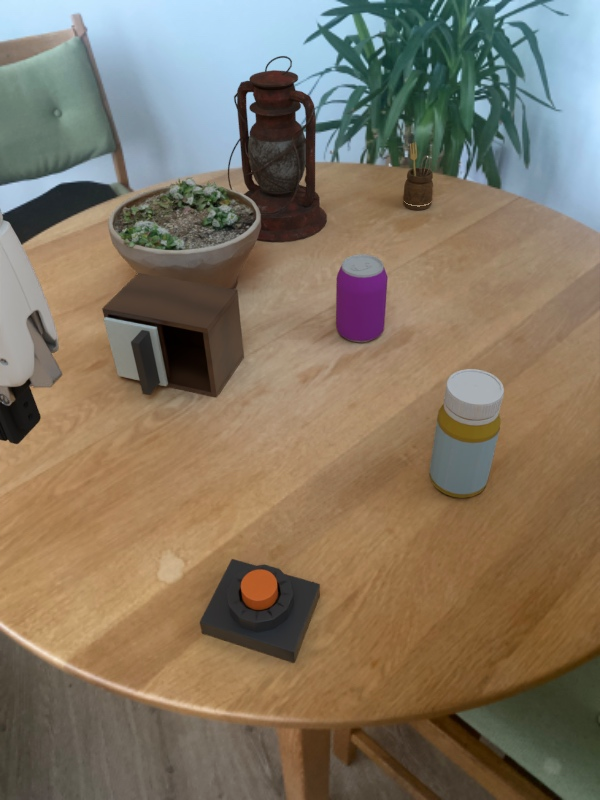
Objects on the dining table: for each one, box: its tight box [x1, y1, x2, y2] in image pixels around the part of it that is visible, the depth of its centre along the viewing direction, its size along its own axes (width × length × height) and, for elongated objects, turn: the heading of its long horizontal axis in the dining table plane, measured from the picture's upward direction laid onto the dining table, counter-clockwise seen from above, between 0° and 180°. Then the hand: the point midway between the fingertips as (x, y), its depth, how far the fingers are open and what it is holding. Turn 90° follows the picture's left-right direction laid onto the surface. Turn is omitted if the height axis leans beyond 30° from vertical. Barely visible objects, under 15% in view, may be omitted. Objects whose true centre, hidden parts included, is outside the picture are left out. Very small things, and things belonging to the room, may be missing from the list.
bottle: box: [428, 368, 505, 499], centre depth 78 cm, size 7×7×15 cm
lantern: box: [227, 55, 328, 243], centre depth 128 cm, size 19×19×30 cm
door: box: [103, 317, 168, 396], centre depth 94 cm, size 4×8×10 cm, turn 71°
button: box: [241, 569, 278, 610], centre depth 67 cm, size 4×4×2 cm
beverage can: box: [335, 253, 389, 343], centre depth 104 cm, size 8×8×12 cm
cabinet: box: [101, 273, 245, 398], centre depth 98 cm, size 10×16×12 cm, turn 71°
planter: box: [107, 177, 261, 290], centre depth 115 cm, size 26×25×15 cm
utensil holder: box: [402, 141, 434, 211], centre depth 138 cm, size 6×6×12 cm
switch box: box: [199, 558, 321, 664], centre depth 69 cm, size 10×8×4 cm
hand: (20, 429), depth 52 cm, fingers closed
